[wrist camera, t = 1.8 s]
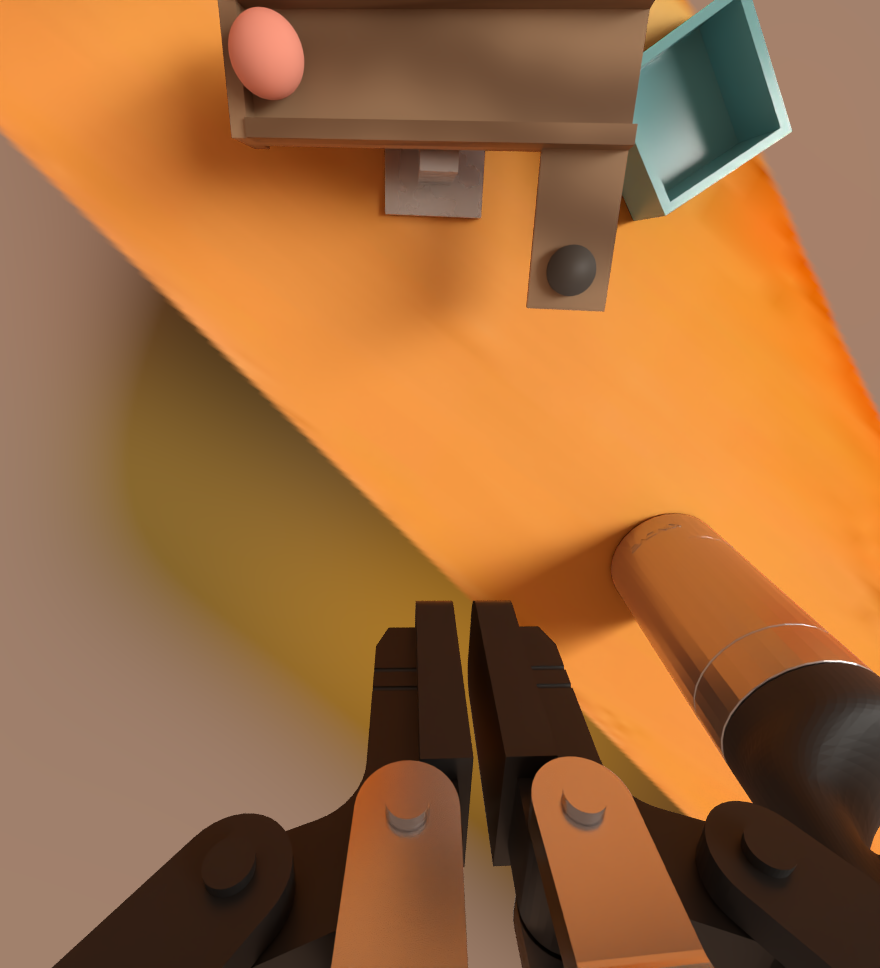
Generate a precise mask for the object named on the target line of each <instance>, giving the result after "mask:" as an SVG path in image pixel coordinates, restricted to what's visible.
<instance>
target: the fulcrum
mask: <svg viewBox="0 0 880 968" xmlns="http://www.w3.org/2000/svg"><path fill="white" fill-rule="evenodd" d="M484 157H485V151H483V150H436V149H390V148H385V214H386V215H406V216H429V217H452V218H475V219H480V218H481V208H482V191H483V174H484Z"/></svg>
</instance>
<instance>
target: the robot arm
mask: <svg viewBox="0 0 880 968" xmlns="http://www.w3.org/2000/svg"><path fill="white" fill-rule="evenodd" d="M611 576H612V580H613V583H614V586H615V587H616V589H617V590H618V592H619V594H620V595H621V597H622V598H623V600H624V602H625V603H626V605H627V606H628V608H629V610H630V611H631V613H632V615H633V616H634V618H635V620H636V621H637V623H638V624H639V626H640V628H641V629H642V631H643V632H644V634H645V635H646V637H647V639H648V640H649V642H650V643H651V645H652V647H653V648H654V650H655V651H656V653H657V654H658V656H659V658H660V659H661V661H662V662H663V664H664V665H665V667H666V669H667V670H668V672H669V673H670V675H671V677H672V678H673V680H674V681H675V683H676V684H677V686H678V688H679V689H680V691H681V692H682V694H683V696H684V697H685V699H686V700H687V702H688V703H689V705H690V707H691V708H692V710H693V711H694V713H695V714H696V716H697V718H698V719H699V721H700V722H701V723H702V725H703V727H704V728H705V730H706V731H707V733H708V735H709V736H710V738H711V739H712V741H713V742H714V744H715V746H716V747H717V749H718V750H719V752H720V753H721V755H722V757H723V758H724V760H725V761H726V763H727V764H728V766H729V768H730V769H731V771H732V772H733V774H734V775H735V777H736V778H737V780H738V781H739V783H740V784H741V786H742V787H743V789H744V790H745V792H746V794H747V795H748V797H749V798H750V800H751V801H752V802H753V803H749V802H742V801H729V802H725V803H721V804H720V805H718V806H716V807H715V808H714V809H712V810H711V811H710V813H709V815H708V817H707V819H706V821H702V820H699V819H695V818H691V817H688V816H684V815H681V814H677V813H674V812H670V811H667V810H663V809H660V808H657V807H654V806H651V805H649V804H646V803H644V802H642V801H640V800H638V799H637V798H635V797H634V796H632V795H631V793H630V792H629V790H628V788H627V787H626V786H625V784H624V783H623V782H622V781H621V780H620V779H619V778H618V777H617V776H616V775H615V774H614V773H612V772H611V771H610V770H609V769H607V768H606V767H604V766H603V764H602V762H601V760H600V758H599V756H598V753H597V751H596V748H595V745H594V743H593V740H592V737H591V735H590V732H589V730H588V727H587V725H586V722H585V719H584V717H583V714H582V711H581V709H580V706H579V704H578V701H577V698H576V696H575V693H574V691H573V688H571V683H570V680H569V678H568V675H567V672H566V670H564V665H563V662H562V659H561V657H560V654H559V652H558V649H557V646H556V644H555V643H554V642H553V641H552V640H551V639H550V638H549V637H548V636H547V635H546V634H545V633H544V632H543V631H542V630H541V629H540V628H539V627H538V626H534V627H519V625H518V621H517V618H516V615H515V612H514V608H513V605H512V603H511V601H473V604H472V612H471V627H470V640H469V654H468V688H469V698H470V705H471V712H472V719H473V727H474V734H475V740H476V748H477V755H478V762H479V769H480V775H481V783H482V791H483V798H484V805H485V812H486V818H487V826H488V833H489V840H490V847H491V854H492V862H493V866H509V865H511V869H512V875H513V881H514V887H515V893H516V897H515V903H514V910H513V922H514V929H515V934H516V940H517V945H518V950H519V955H520V960H521V965H522V968H880V855H877V854H876V853H874V852H873V851H871V850H870V847H871V844H872V841H873V838H874V836H875V834H876V832H877V830H878V828H879V826H880V677H879V676H878V675H876V674H875V673H874V672H873V671H872V670H871V669H869V668H868V667H867V666H866V665H865V664H864V663H863V662H862V661H860V660H859V659H858V658H857V657H856V656H855V655H854V654H852V653H851V652H850V651H849V650H848V649H847V648H846V647H845V646H843V645H842V644H841V643H840V642H839V641H838V640H837V639H835V638H834V637H833V636H832V635H831V634H830V633H828V632H827V631H826V630H825V629H824V628H823V627H822V626H821V625H819V624H818V623H817V622H816V621H815V620H814V619H813V618H812V617H810V616H809V615H808V614H807V613H806V612H805V611H804V610H803V609H801V608H800V607H799V606H798V605H797V604H796V603H795V602H794V601H792V600H791V599H790V598H789V597H788V596H787V595H786V594H785V593H783V592H782V591H781V590H780V589H779V588H778V587H777V586H776V585H774V584H773V583H772V582H771V581H770V580H769V579H768V578H767V577H765V576H764V575H763V574H762V573H761V572H760V571H759V570H758V569H756V568H755V567H754V566H753V565H752V564H751V563H750V562H749V561H747V560H746V559H745V558H744V557H743V556H742V555H741V554H740V553H738V552H737V551H736V550H735V549H734V548H733V547H732V546H731V545H730V544H729V543H727V542H726V541H725V540H724V539H723V538H722V537H721V536H720V535H718V534H717V533H716V532H715V531H714V530H713V529H712V528H711V527H709V526H708V525H707V524H706V523H704V522H703V521H701V520H700V519H698V518H695V517H693V516H690V515H685V514H665V515H661V516H657V517H654V518H652V519H649V520H647V521H645V522H643V523H641V524H640V525H638V526H637V527H635V528H634V529H632V530H631V531H630V532H629V533H628V534H627V535H626V536H625V537H624V538H623V540H622V541H621V543H620V544H619V546H618V547H617V549H616V551H615V554H614V556H613V560H612V565H611ZM472 768H473V751H472V743H471V736H470V728H469V721H468V714H467V706H466V699H465V690H464V683H463V675H462V667H461V660H460V652H459V645H458V637H457V630H456V622H455V614H454V607H453V602H452V601H416V610H415V628H388V630H387V631H386V632H385V634H384V635H383V637H382V638H381V640H380V641H379V643H378V644H377V646H376V655H375V668H374V680H373V692H372V703H371V715H370V728H369V740H368V752H367V764H366V770H365V774H364V776H363V780H362V782H361V783H360V785H359V787H358V789H357V790H356V791H355V793H354V794H353V796H352V797H351V798H350V799H349V800H348V801H347V802H346V803H345V804H344V805H342V806H341V807H340V808H339V809H337V810H336V811H334V812H333V813H331V814H329V815H327V816H325V817H323V818H320V819H318V820H315V821H313V822H310V823H307V824H304V825H302V826H299V827H296V828H293V829H291V830H288V831H285V830H284V829H283V828H282V827H281V826H280V825H279V824H278V823H277V822H276V821H274V820H273V819H271V818H269V817H266V816H264V815H259V814H239V815H233V816H230V817H227V818H224V819H222V820H220V821H218V822H215V823H213V824H212V825H210V826H209V827H207V828H205V829H204V830H203V831H201V832H200V833H199V834H198V835H196V836H195V837H194V838H193V839H192V840H191V841H190V842H189V843H187V844H186V845H185V846H184V847H183V848H182V849H181V850H180V851H179V852H178V853H177V854H175V855H174V856H173V857H172V858H171V859H170V860H169V861H168V862H167V863H166V864H165V865H163V866H162V867H161V868H160V869H159V870H158V871H157V872H156V873H155V874H154V875H153V876H151V877H150V878H149V879H148V880H147V881H146V882H145V883H144V884H143V885H142V886H141V887H140V888H138V889H137V890H136V891H135V892H134V893H133V894H132V895H131V896H130V897H129V898H127V899H126V900H125V901H124V902H123V903H122V904H121V905H120V906H119V907H118V908H117V909H115V910H114V911H113V912H112V913H111V914H110V915H109V916H108V917H107V918H106V919H105V920H103V921H102V922H101V923H100V924H99V925H98V926H97V927H96V928H95V929H94V930H93V931H91V932H90V933H89V934H88V935H87V936H86V937H85V938H84V939H83V940H82V941H81V942H79V943H78V944H77V945H76V946H75V947H74V948H73V949H72V950H71V951H70V952H69V953H67V954H66V955H65V956H64V957H63V958H62V959H61V960H60V961H59V962H58V963H56V965H54V966H53V967H52V968H468V954H467V933H466V915H465V894H464V873H463V867H464V864H465V850H466V839H467V828H468V827H467V826H468V816H469V804H470V792H471V780H472Z"/></svg>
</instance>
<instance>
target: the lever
mask: <svg viewBox="0 0 880 968" xmlns="http://www.w3.org/2000/svg"><path fill="white" fill-rule="evenodd" d="M654 1H655V0H218V7H219V17H220V27H221V36H222V46H223V56H224V66H225V76H226V86H227V96H228V105H229V115H230V125H231V135H232V138H233V139H235V140H238V141H240V142H242V143H244V144H246V145H248V146H250V147H252V148H255V149H270V148H269V146H296V147H343V148H390V149H436V150H483V151H530V152H541V156H540V167H539V177H538V188H537V198H536V209H535V220H534V230H533V241H532V251H531V262H530V273H529V283H528V294H527V304H526V307H527V308H538V309H560V310H583V311H604V310H605V303H606V297H607V290H608V283H609V277H610V270H611V263H612V257H613V250H614V243H615V237H616V230H617V223H618V217H619V210H620V203H621V197H622V190H623V183H624V177H625V170H626V163H627V157H628V150H629V149H630V148H632V147H633V146H634V145H635V139H636V132H637V126H638V124H632V123H633V117H634V110H635V103H636V97H637V90H638V83H639V77H640V70H641V63H642V57H643V50H644V43H645V37H646V30H647V23H648V17H649V10H650V7H651V6H652V4H653V2H654ZM253 7H265V8H269V9H271V10H274V11H276V12H277V13H279V14H280V15H282V16H283V17H284V18H285V19H286V20H287V21H288V22H289V23H290V24H291V25H292V27H293V28H294V30H295V31H296V33H297V35H298V37H299V39H300V42H301V45H302V49H303V53H304V72H303V76H302V80H301V82H300V84H299V86H298V87H297V89H296V90H295V91H294V92H293V93H292V94H291V95H289V96H288V97H286V98H284V99H280V100H267V99H263V98H260V97H259V96H257V95H255V94H253V93H252V92H251V91H249V90H248V89H247V88H246V87H245V86H244V85H243V84H242V82H241V81H240V80H239V78H238V77H237V75H236V73H235V71H234V69H233V67H232V64H231V61H230V57H229V51H228V38H229V32H230V29H231V26H232V24H233V22H234V21H235V19H236V18H237V16H239V15H240V14H241V13H242V12H243V11H245V10H247V9H249V8H253Z"/></svg>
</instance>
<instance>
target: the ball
mask: <svg viewBox="0 0 880 968" xmlns="http://www.w3.org/2000/svg"><path fill="white" fill-rule="evenodd" d="M228 51H229V57H230V61H231V64H232V67H233V69H234V71H235V73H236V75H237V77H238V78H239V80H240V81H241V82H242V84H243V85H244V86H245V87H246V88H247V89H248V90H249V91H251V92H252V93H253V94H255V95H257V96H259V97H260V98H263V99H267V100H280V99H284V98H286V97H288V96H289V95H291V94H292V93H293V92H294V91H295V90H296V89H297V87H298V86H299V84H300V82H301V80H302V76H303V72H304V53H303V49H302V45H301V42H300V39H299V37H298V35H297V33H296V31H295V30H294V28H293V27H292V25H291V24H290V23H289V22H288V21H287V20H286V19H285V18H284V17H283V16H282V15H280V14H279V13H277V12H276V11H274V10H271V9H269V8H265V7H253V8H249V9H247V10H245V11H243V12H242V13H241V14H240V15H239V16H237V18H236V19H235V21H234V22H233V24H232V26H231V29H230V32H229V38H228Z"/></svg>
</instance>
